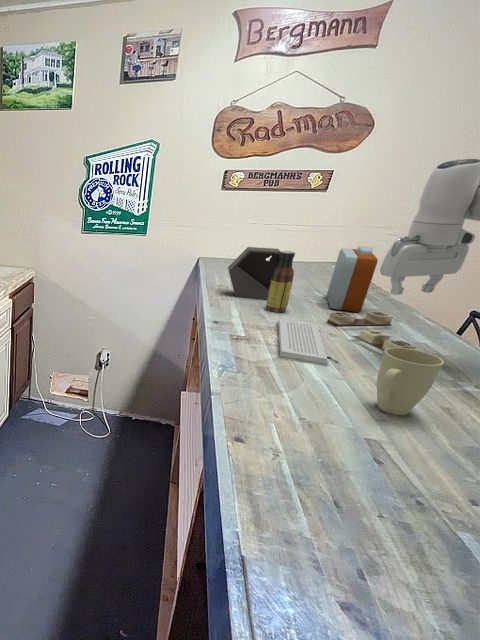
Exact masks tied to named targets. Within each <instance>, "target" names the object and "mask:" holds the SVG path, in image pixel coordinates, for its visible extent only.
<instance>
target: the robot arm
mask: <svg viewBox="0 0 480 640" xmlns="http://www.w3.org/2000/svg"><path fill="white" fill-rule="evenodd" d="M418 203H419V204H418V205H419V206H418V207H419V208H418V211H417V213H416V215H414V217H413V220H412V221H411V223H410V227H409V231H408V233H407V235H406V236H405V235H404V236H400V237H399V238H398V239H397V240H395V241H394V242H393V243H392V245H391V246H390V247H389V249H388V250H387V252H386V255H385V256H384V259H383V261H382V263H381V266H380V268H379V272H380V275H381V276H385V277H388V278H390V283H391V289H390V291H389V292H390V294H391V295H394V296H398V295H402V294H403V292H404V290H405V287H403V282H404V281H405V278H409V277H425V276H428V277H429V278H428V280H427V281H426V283H423V284H422V286H421V289H420V292H421V293H426V294H427V293H433V292H434V291H435V288H436V286H437V285H438V284H439V283H440V282H441V281H442V279H444V278H443V277H444V276H445V275H454V274H457V273H458V272H459V271H460V270H461V269H462V267H463V264H464V263H465V260H466V258H467V255H468V253H469V249H470V246H469V245H470V244H473V243H474V241H475V238H476V234H474V233H473V232H470V231H468V230H466V229H464V228H463V227H464V224H465V221H466V220H469V221H475V222H480V159H479V158H465V159H454V160H448V161H445V162H442V163H440V164H438V165H437V166H435V168H434V169H433V171H431V173H430V175H429V177H428V178H427V180H426V183H425V185H424V187H423V189H422V193H421V196H420V199H419V201H418Z"/></svg>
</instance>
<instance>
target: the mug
mask: <svg viewBox="0 0 480 640" xmlns="http://www.w3.org/2000/svg"><path fill="white" fill-rule="evenodd" d="M444 364H445V361H444V360H443V359H442V358H440V357H439V356H437V355H434V354H432V353H429V352H426V351H423V350H419V349H415V350H414V349H408V348H387V349H385V351H383V355H382V358H381V361H380V366H379V369H378V373H377V377H376V399H377V403H376V404H377V408H378V409H380V410H381V411H382V412H385V413H388V414H391V415H397V416H406V415H408V413H409V412H411V411H412V410H413V409H414V408H415V407H416V405H417V404H418V403H420V401H421V400H422V399H424V398H425V396H426V395H427V394H428V393H429V391H430V389H431V388H432V386H433V384H434V383H435V381H436V379H437V377H438V375H439V373H440V372H441V370H442V367H443V366H444Z"/></svg>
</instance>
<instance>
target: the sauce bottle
mask: <svg viewBox="0 0 480 640" xmlns="http://www.w3.org/2000/svg"><path fill="white" fill-rule="evenodd" d="M295 256H296V252H295V251H291V250H283V251H281V254H280V261H279V265H278V266H277V268H276V269H275V271H274V273H273V276H272V279H271V284H270V289H269V294H268V298H267V299H266V302H265V304H266V307H265V308H266V310H267V311H270V312H273V313H275V312H276V313H284V312H286V311H287V307H288V304H289V301H290V296H291V290H292V288H293V287H292V286H293V280H294V276H295V274H294V273H295V272H294V269H293V262H294V258H295Z"/></svg>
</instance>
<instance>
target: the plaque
mask: <svg viewBox="0 0 480 640" xmlns="http://www.w3.org/2000/svg"><path fill="white" fill-rule="evenodd" d="M277 324H278V325H277V326H278V342H279V356H280V358H286V359H293V360H299V361H305V362H309V363H310V362H311V363H316V364H324V365H326V364H327V362H328V357H327V353H326V349H325V346H324V343H323V339H322V336H321V333H320V332H321V331H320V329H319V325H318V323H314V322H306V321H299V320H293V319H292V320H291V319H285V318H279V319H278V323H277Z"/></svg>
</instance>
